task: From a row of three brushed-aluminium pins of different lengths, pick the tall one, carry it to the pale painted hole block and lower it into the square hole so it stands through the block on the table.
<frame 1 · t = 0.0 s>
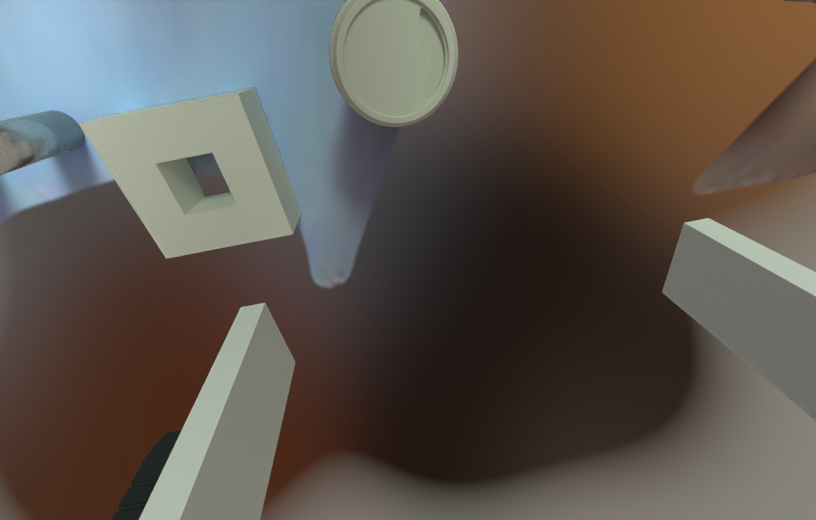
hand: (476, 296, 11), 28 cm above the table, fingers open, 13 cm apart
hole block: (218, 168, 35), on the table
medium pin: (62, 130, 32), on the table
coffee cup: (386, 55, 31), on the table
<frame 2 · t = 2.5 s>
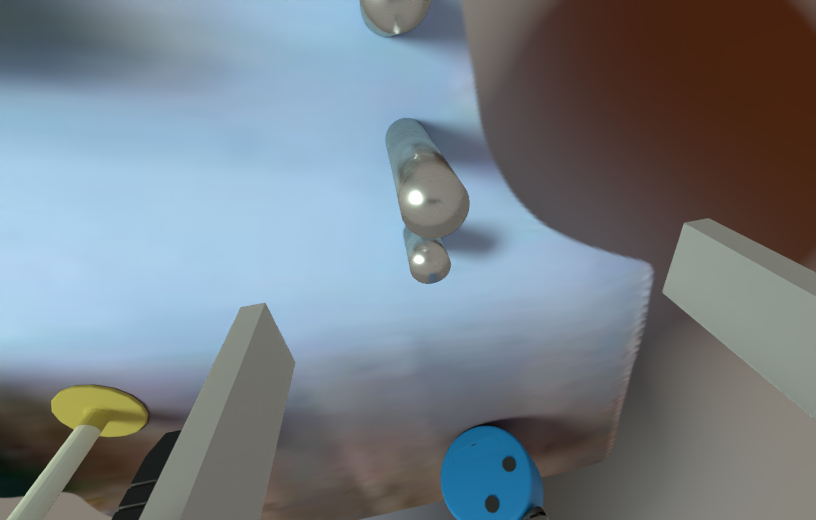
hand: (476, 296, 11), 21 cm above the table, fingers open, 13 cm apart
medium pin: (385, 7, 24), on the table
short pin: (420, 233, 33), on the table
long pin: (405, 139, 28), on the table
candlestick: (103, 409, 42), on the table
alarm clock: (476, 433, 54), on the table
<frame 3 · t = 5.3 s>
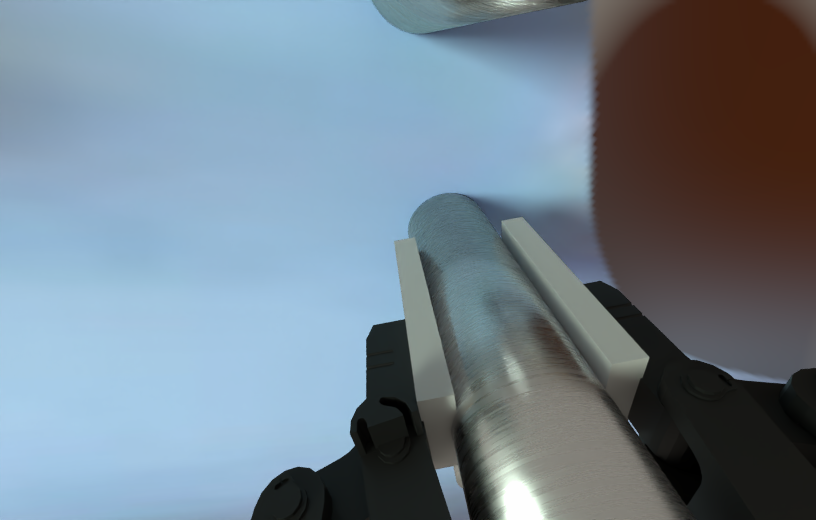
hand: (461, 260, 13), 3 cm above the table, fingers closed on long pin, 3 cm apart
long pin: (446, 229, 15), on the table, touching gripper
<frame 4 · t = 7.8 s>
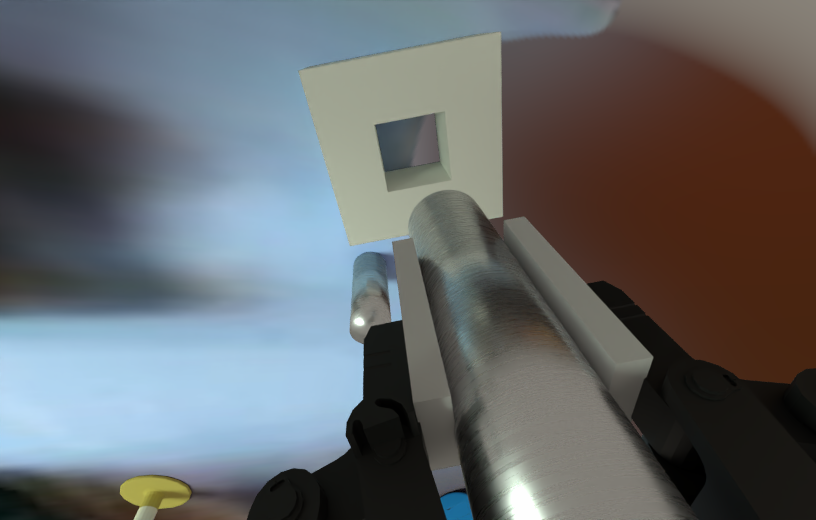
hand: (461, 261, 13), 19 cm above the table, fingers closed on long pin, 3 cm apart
hole block: (407, 138, 29), on the table
medium pin: (369, 265, 36), on the table
long pin: (445, 225, 15), point 16 cm above the table, touching gripper
candlestick: (157, 490, 54), on the table
alarm clock: (453, 496, 66), on the table
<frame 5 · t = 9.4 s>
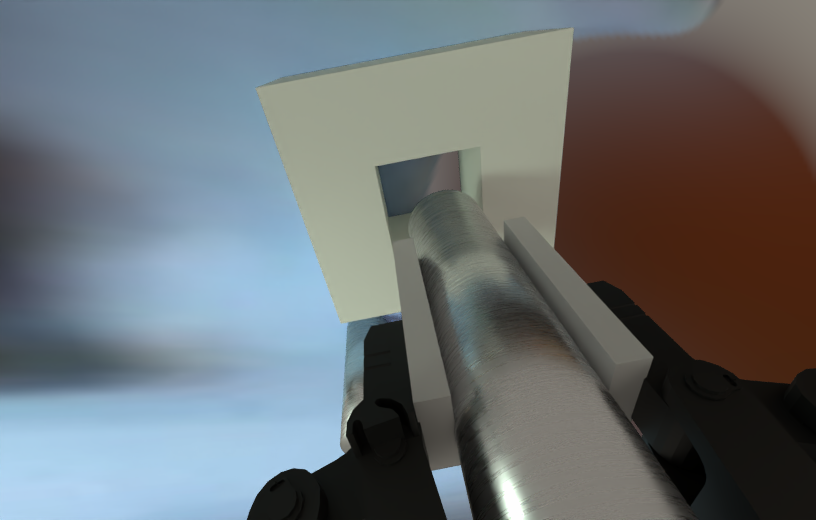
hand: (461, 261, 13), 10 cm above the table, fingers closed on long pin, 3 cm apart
hole block: (420, 173, 21), on the table
medium pin: (368, 328, 28), on the table
long pin: (445, 225, 15), point 7 cm above the table, touching gripper
when the fingers open (7 cm above the table, at t = 10.8 s): long pin drops 3 cm, resting in hole block.
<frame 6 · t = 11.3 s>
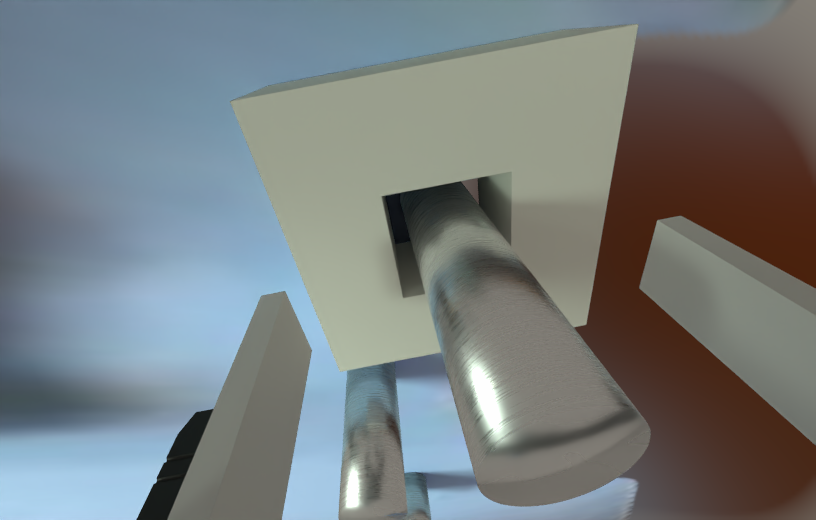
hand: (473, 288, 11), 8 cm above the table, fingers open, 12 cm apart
hole block: (432, 196, 18), on the table
medium pin: (371, 363, 25), on the table
short pin: (409, 481, 35), on the table
long pin: (431, 196, 18), resting in hole block
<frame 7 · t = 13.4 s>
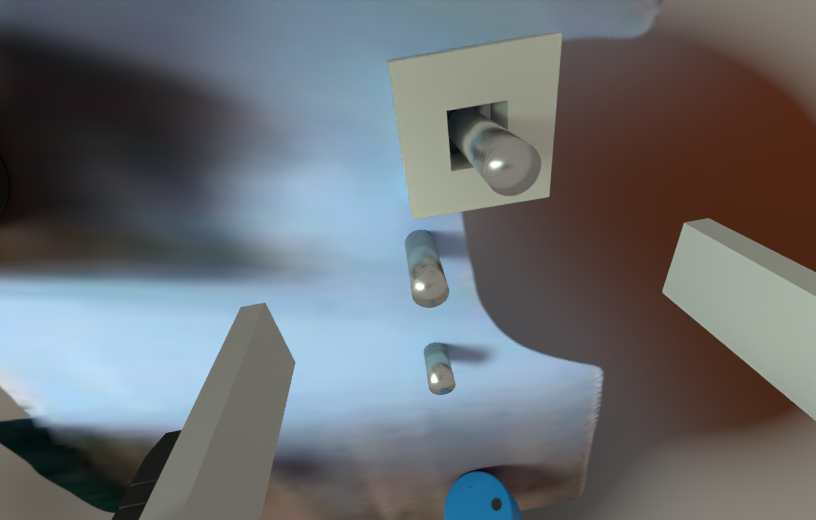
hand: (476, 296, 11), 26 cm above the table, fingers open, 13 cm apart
hole block: (465, 126, 33), on the table
medium pin: (419, 243, 39), on the table
short pin: (435, 351, 49), on the table
long pin: (464, 126, 33), resting in hole block
alarm clock: (473, 475, 69), on the table
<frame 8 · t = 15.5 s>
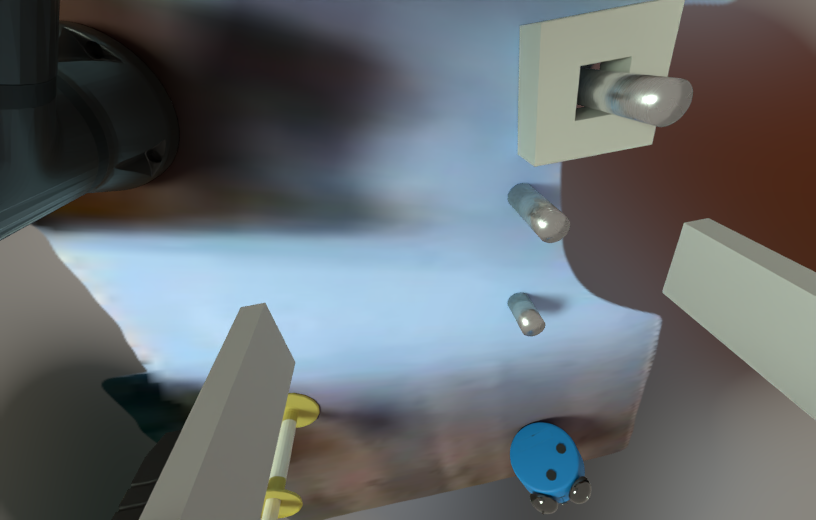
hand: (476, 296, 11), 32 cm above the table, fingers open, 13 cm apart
hole block: (576, 85, 38), on the table
medium pin: (520, 195, 44), on the table
short pin: (518, 301, 54), on the table
long pin: (575, 85, 38), resting in hole block
candlestick: (292, 409, 63), on the table
alarm clock: (532, 428, 74), on the table
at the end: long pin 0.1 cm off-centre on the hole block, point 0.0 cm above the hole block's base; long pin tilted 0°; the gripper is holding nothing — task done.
